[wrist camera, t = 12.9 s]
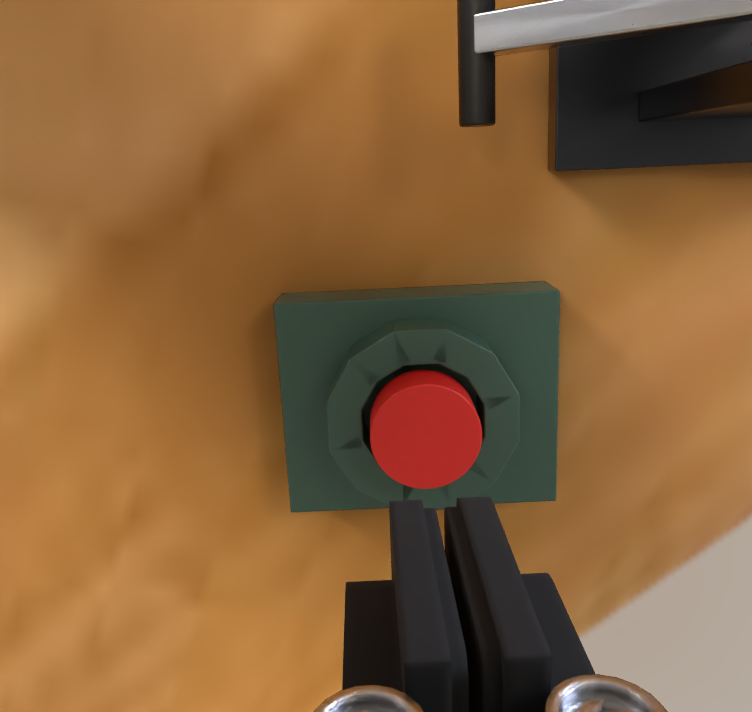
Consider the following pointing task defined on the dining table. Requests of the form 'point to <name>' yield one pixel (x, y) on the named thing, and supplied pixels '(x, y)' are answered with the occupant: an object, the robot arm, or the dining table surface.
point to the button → (424, 429)
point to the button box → (415, 352)
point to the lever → (563, 34)
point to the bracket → (652, 100)
